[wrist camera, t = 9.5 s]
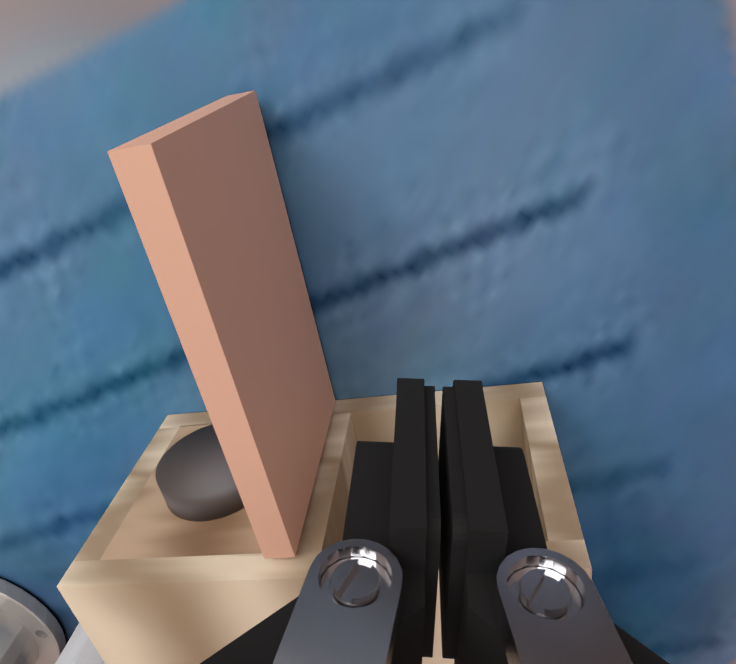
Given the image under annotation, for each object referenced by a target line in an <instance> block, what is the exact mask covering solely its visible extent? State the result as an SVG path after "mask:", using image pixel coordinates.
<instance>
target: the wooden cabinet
mask: <svg viewBox="0 0 736 664" xmlns="http://www.w3.org/2000/svg"><path fill="white" fill-rule="evenodd" d="M483 392H484V398H485V403H486V409H487V414H488V420H489V426H490V431H491V437H492V443H493V446H498V447H521V449H522V450H523V453H524V456H525V460H526V464H527V468H528V472H529V476H530V480H531V484H532V488H533V492H534V496H535V501H536V505H537V509H538V513H539V517H540V521H541V525H542V529H543V533H544V537H545V541H546V545H547V549H548V550H551V551H555V552H558V553H561V554H563V555H564V556H566V557H568V558H570V559H572V560H573V561H575V562H576V563H577V564H578V565H579V566H580V567H581V568H583V569H584V570H585V571H586V573H587V574H588V576H589V577H590V579H591V580H592V567H591V564H590V560H589V556H588V552H587V549H586V545H585V541H584V537H583V534H582V530H581V526H580V522H579V519H578V515H577V511H576V507H575V504H574V500H573V496H572V493H571V489H570V485H569V481H568V478H567V474H566V470H565V466H564V463H563V459H562V455H561V451H560V448H559V444H558V440H557V436H556V433H555V429H554V425H553V422H552V418H551V414H550V410H549V407H548V403H547V399H546V395H545V392H544V388H543V384H542V382H535V383H524V384H513V385H501V386H490V387H483ZM435 404H436V426H437V447H438V456H439V440H440V423H441V406H442V391H435ZM395 413H396V395H389V396H377V397H366V398H355V399H343V400H335V404H334V408H333V412H332V415H331V419H330V423H329V427H328V431H327V435H326V439H325V443H324V447H323V451H322V454H321V458H320V462H319V466H318V470H317V474H316V478H315V482H314V486H313V490H312V493H311V497H310V501H309V505H308V509H307V513H306V517H305V521H304V525H303V528H302V532H301V536H300V540H299V544H298V548H297V552H296V556H295V557H289V558H267V559H264V557H263V554H262V552H261V549H260V546H259V544H258V541H257V539H256V536H255V533H254V531H253V528H252V526H251V523H250V520H249V518H248V515H247V513H246V510H245V507H244V505H243V502H242V500H241V497H240V494H239V492H238V489H237V487H236V484H235V481H234V479H233V476H232V474H231V471H230V468H229V466H228V463H227V461H226V458H225V455H224V453H223V450H222V448H221V445H220V442H219V440H218V437H217V435H216V432H215V429H214V427H213V424H212V422H211V419H210V416H209V414H208V412H197V413H186V414H174V415H168V416H167V417H166V419H165V420H164V422H163V423H162V425H161V426H160V428H159V430H158V431H157V433H156V434H155V436H154V437H153V439H152V440H151V442H150V443H149V445H148V446H147V448H146V450H145V451H144V453H143V454H142V456H141V457H140V459H139V460H138V462H137V463H136V465H135V467H134V468H133V470H132V471H131V473H130V474H129V476H128V477H127V479H126V480H125V482H124V484H123V485H122V487H121V488H120V490H119V491H118V493H117V494H116V496H115V497H114V499H113V500H112V502H111V504H110V505H109V507H108V508H107V510H106V511H105V513H104V514H103V516H102V517H101V519H100V521H99V522H98V524H97V525H96V527H95V528H94V530H93V531H92V533H91V534H90V536H89V537H88V539H87V541H86V542H85V544H84V545H83V547H82V548H81V550H80V551H79V553H78V554H77V556H76V558H75V559H74V561H73V562H72V564H71V565H70V567H69V568H68V570H67V571H66V573H65V575H64V576H63V578H62V579H61V581H60V582H59V584H58V585H57V588H58V589H59V591H60V593H61V594H62V596H63V597H64V599H65V601H66V602H67V604H68V605H69V607H70V608H71V610H72V612H73V613H74V615H75V616H76V618H77V619H78V621H79V623H80V624H81V626H82V627H83V629H84V631H85V632H86V634H87V635H88V637H89V638H90V640H91V642H92V643H93V645H94V646H95V648H96V649H97V651H98V653H99V654H100V656H101V657H102V659H103V661H104V662H105V664H200V663H201V662H203V661H204V660H206V659H207V658H209V657H210V656H212V655H213V654H215V653H216V652H217V651H219V650H220V649H222V648H223V647H225V646H226V645H228V644H229V643H231V642H232V641H234V640H235V639H237V638H238V637H239V636H241V635H242V634H244V633H245V632H247V631H248V630H250V629H251V628H253V627H254V626H256V625H257V624H258V623H260V622H261V621H263V620H264V619H266V618H267V617H269V616H270V615H272V614H273V613H275V612H276V611H277V610H279V609H280V608H282V607H283V606H285V605H286V604H288V603H289V602H291V601H292V600H294V599H295V598H297V597H298V596H299V594H300V591H301V589H302V586H303V583H304V581H305V578H306V576H307V573H308V570H309V568H310V566H311V564H312V562H313V561H314V559H315V557H316V556H317V555H318V554H319V553H320V552H321V551H323V550H324V549H325V548H326V547H328V546H330V545H332V544H334V543H336V542H338V541H342V539H343V532H344V525H345V518H346V511H347V505H348V498H349V491H350V484H351V477H352V470H353V463H354V456H355V449H356V444H357V441H373V442H394V431H395ZM422 664H454V659H447V658H443V657H442V640H441V614H440V588H439V571H438V586H437V601H436V616H435V630H434V645H433V657H432V658H431V657H422Z"/></svg>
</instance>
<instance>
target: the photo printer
mask: <svg viewBox="0 0 736 664" xmlns="http://www.w3.org/2000/svg"><path fill="white" fill-rule="evenodd" d="M55 664H105V662H104V661H103V659H102V657H101V656H100V654H99V653H98V651H97V649H96V648H95V646H94V645H93V643H92V642H91V640H90V638H89V637H88V635H87V634H86V632H85V631H84V629H83V627H82V626H81V624H80V623H79V624H78V626H77V627H76V629H75V631H74V632H73V634H72V636H71V638H70V639H69V641H68V643H67V644H66V646H65V648H64V649H63V651H62V653H61V654H60V656H59V658H58V659H57V661H56V663H55Z"/></svg>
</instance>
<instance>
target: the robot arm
mask: <svg viewBox="0 0 736 664" xmlns="http://www.w3.org/2000/svg"><path fill="white" fill-rule="evenodd" d="M438 571H439V588H440V614H441V640H442V657H443V658H447V659H454V664H669V663H668V662H666V661H665V660H663V659H662V658H661V657H659V656H658V655H657V654H655V653H654V652H652V651H651V650H650V649H648V648H647V647H646V646H644V645H643V644H641V643H640V642H639V641H637V640H636V639H635V638H633V637H632V636H630V635H629V634H628V633H626V632H625V631H623V630H622V629H621V628H619V627H618V626H617V625H615V624H614V623H613V622H612V620H611V618H610V616H609V614H608V612H607V610H606V608H605V606H604V604H603V602H602V600H601V598H600V596H599V593H598V591H597V589H596V587H595V585H594V583H593V582H592V580H591V579H590V577H589V576H588V574H587V573H586V571H585V570H584V569H583V568H581V567H580V566H579V565H578V564H577V563H576V562H575V561H573V560H572V559H570V558H568V557H566V556H564V555H563V554H561V553H558V552H555V551H551V550H548V549H547V545H546V541H545V537H544V533H543V529H542V525H541V521H540V517H539V513H538V509H537V505H536V501H535V496H534V492H533V488H532V484H531V480H530V476H529V472H528V468H527V464H526V460H525V456H524V453H523V450H522V449H521V447H498V446H493V443H492V437H491V431H490V426H489V420H488V414H487V409H486V403H485V398H484V392H483V386H482V382H481V381H470V380H454V381H453V387H443V390H442V406H441V423H440V440H439V456H438V447H437V426H436V404H435V387H434V386H424V379H409V378H398V379H397V395H396V413H395V431H394V442H373V441H357V444H356V449H355V456H354V463H353V470H352V477H351V484H350V491H349V498H348V505H347V511H346V518H345V525H344V532H343V539H342V541H338V542H336V543H334V544H332V545H330V546H328V547H326V548H325V549H324V550H323V551H321V552H320V553H319V554H318V555H317V556H316V557H315V559H314V561H313V562H312V564H311V566H310V568H309V570H308V573H307V576H306V578H305V581H304V583H303V586H302V589H301V591H300V594H299V596H298V597H297V598H295V599H294V600H292V601H291V602H289V603H288V604H286V605H285V606H283V607H282V608H280V609H279V610H277V611H276V612H275V613H273V614H272V615H270V616H269V617H267V618H266V619H264V620H263V621H261V622H260V623H258V624H257V625H256V626H254V627H253V628H251V629H250V630H248V631H247V632H245V633H244V634H242V635H241V636H239V637H238V638H237V639H235V640H234V641H232V642H231V643H229V644H228V645H226V646H225V647H223V648H222V649H220V650H219V651H217V652H216V653H215V654H213V655H212V656H210V657H209V658H207V659H206V660H204V661H203V662H201V663H200V664H422V657H431V658H432V657H433V645H434V630H435V616H436V601H437V586H438ZM65 646H66V640H65V636H64V633H63V630H62V628H61V626H60V625H59V623H58V621H57V620H56V618H55V617H54V616H53V615H52V613H51V612H50V611H49V610H48V609H47V608H46V607H45V606H44V605H43V604H42V603H40V602H39V601H38V600H37V599H36V598H35V597H33V596H32V595H30V594H29V593H27V592H26V591H24V590H23V589H21V588H19V587H17V586H15V585H14V584H12V583H10V582H8V581H6V580H4V579H1V578H0V664H55V663H56V661H57V659H58V658H59V656H60V654H61V653H62V651H63V649H64V648H65Z"/></svg>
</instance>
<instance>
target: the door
mask: <svg viewBox="0 0 736 664" xmlns="http://www.w3.org/2000/svg"><path fill="white" fill-rule="evenodd" d="M108 154H109V157H110V159H111V162H112V165H113V167H114V170H115V172H116V175H117V178H118V180H119V183H120V185H121V188H122V190H123V193H124V196H125V198H126V201H127V203H128V206H129V209H130V211H131V214H132V216H133V219H134V222H135V224H136V227H137V229H138V232H139V235H140V237H141V240H142V242H143V245H144V248H145V250H146V253H147V255H148V258H149V261H150V263H151V266H152V268H153V271H154V274H155V276H156V279H157V281H158V284H159V287H160V289H161V292H162V294H163V297H164V300H165V302H166V305H167V307H168V310H169V313H170V315H171V318H172V320H173V323H174V326H175V328H176V331H177V333H178V336H179V339H180V341H181V344H182V346H183V349H184V352H185V354H186V357H187V359H188V362H189V365H190V367H191V370H192V372H193V375H194V378H195V380H196V383H197V385H198V388H199V391H200V393H201V396H202V398H203V401H204V403H205V406H206V409H207V411H208V414H209V416H210V419H211V422H212V424H213V427H214V429H215V432H216V435H217V437H218V440H219V442H220V445H221V448H222V450H223V453H224V455H225V458H226V461H227V463H228V466H229V468H230V471H231V474H232V476H233V479H234V481H235V484H236V487H237V489H238V492H239V494H240V497H241V500H242V502H243V505H244V507H245V510H246V513H247V515H248V518H249V520H250V523H251V526H252V528H253V531H254V533H255V536H256V539H257V541H258V544H259V546H260V549H261V552H262V554H263V557H264V559H267V558H289V557H295V556H296V552H297V548H298V544H299V540H300V536H301V532H302V528H303V525H304V521H305V517H306V513H307V509H308V505H309V501H310V497H311V493H312V490H313V486H314V482H315V478H316V474H317V470H318V466H319V462H320V458H321V454H322V451H323V447H324V443H325V439H326V435H327V431H328V427H329V423H330V419H331V415H332V412H333V408H334V404H335V397H334V393H333V389H332V385H331V382H330V378H329V374H328V370H327V366H326V362H325V358H324V354H323V351H322V347H321V343H320V339H319V335H318V331H317V327H316V323H315V320H314V316H313V312H312V308H311V304H310V300H309V296H308V292H307V288H306V285H305V281H304V277H303V273H302V269H301V265H300V261H299V257H298V254H297V250H296V246H295V242H294V238H293V234H292V230H291V226H290V223H289V219H288V215H287V211H286V207H285V203H284V199H283V195H282V191H281V188H280V184H279V180H278V176H277V172H276V168H275V164H274V160H273V157H272V153H271V149H270V145H269V141H268V137H267V133H266V129H265V126H264V122H263V118H262V114H261V110H260V106H259V102H258V98H257V95H256V91H249V92H244V93H239V94H234V95H229V96H226V97H223V98H221V99H219V100H217V101H215V102H213V103H211V104H208V105H206V106H204V107H202V108H200V109H198V110H196V111H193V112H191V113H189V114H187V115H185V116H183V117H181V118H178V119H176V120H174V121H172V122H170V123H168V124H166V125H163V126H161V127H159V128H157V129H155V130H153V131H151V132H148V133H146V134H144V135H142V136H140V137H138V138H136V139H133V140H131V141H129V142H127V143H125V144H123V145H121V146H118V147H116V148H114V149H112V150H110V151H108Z"/></svg>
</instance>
